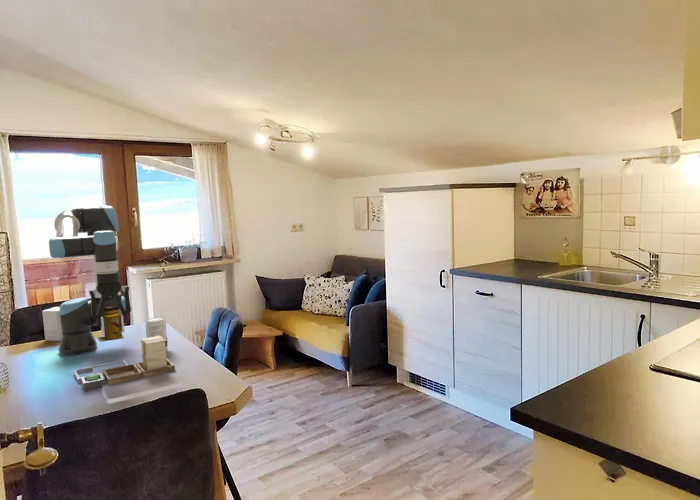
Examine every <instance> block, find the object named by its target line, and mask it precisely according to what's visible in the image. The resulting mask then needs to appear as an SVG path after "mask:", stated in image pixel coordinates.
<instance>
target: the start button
mask: <svg viewBox="0 0 700 500" xmlns="http://www.w3.org/2000/svg"><path fill="white" fill-rule="evenodd" d="M86 376H87V377H86V378H87V381H92V380H96V379H99V375H98V373H91V374H88V375H86Z"/></svg>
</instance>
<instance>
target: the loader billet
mask: <svg viewBox="0 0 700 500" xmlns="http://www.w3.org/2000/svg"><path fill="white" fill-rule="evenodd" d="M140 341H141V343H140V344H141V351H142V352H141V353H142V362H143V367H144V369H145V371H148V370H152V369H157V368H162V367H166V366H167V359H168V358H167V352H166V346H165V340H164V339H163V338H162V337H161V336H154V337H149V338H147V337H144V338H141V339H140ZM166 358H167V359H166Z"/></svg>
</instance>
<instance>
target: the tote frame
mask: <svg viewBox="0 0 700 500" xmlns="http://www.w3.org/2000/svg"><path fill="white" fill-rule="evenodd" d="M118 363H123V365H124V366H125V365H129V364H128V363H127V361H126V360H125V359H122V360H118V361H111V362H106V363H102V364H97V365H92V366H87V367H82V368H78V369H73V375H74V377H75V380H76V382H77V383H78V384H80V383H81V377H80V375H79V374H82V373H87V372H92V371H94V368H99V367H102V366H106V365H107V366H108V365H113V364H118ZM102 375H103V373H102Z"/></svg>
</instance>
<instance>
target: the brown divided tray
mask: <svg viewBox="0 0 700 500" xmlns="http://www.w3.org/2000/svg"><path fill="white" fill-rule="evenodd" d="M166 359H167V366H166V367H162V368H157V369H152V370H148V371H145V369H144V367H143V361H141V362H135V363H130V364H128V365H125V364H124V365H121V366H116V367H112V368H106V369H102V374H103V376H104V378H105V384H107V386H113V385H117V384H122V383H126V382H130V381H135V380H139V379H143V378H148V377H153V376H156V375H157V376H158V375H162V374H166V373H170V372H175V371H176V368H175V367H176V366H175V364H174V363H173V362H172V361H171V360H170V359H168V357H166Z"/></svg>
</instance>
